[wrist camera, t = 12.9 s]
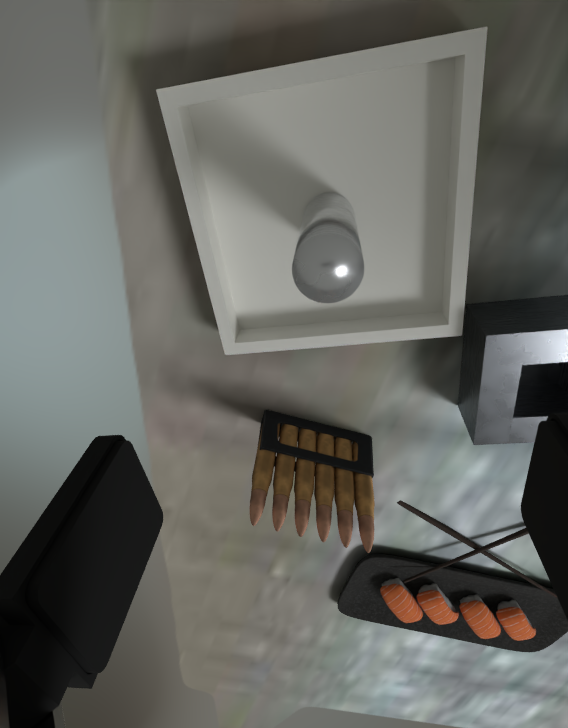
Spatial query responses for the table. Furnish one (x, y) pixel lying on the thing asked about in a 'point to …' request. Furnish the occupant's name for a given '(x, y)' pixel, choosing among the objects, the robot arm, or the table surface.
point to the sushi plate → (454, 599)
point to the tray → (335, 188)
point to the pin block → (513, 368)
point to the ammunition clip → (314, 458)
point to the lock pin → (328, 250)
